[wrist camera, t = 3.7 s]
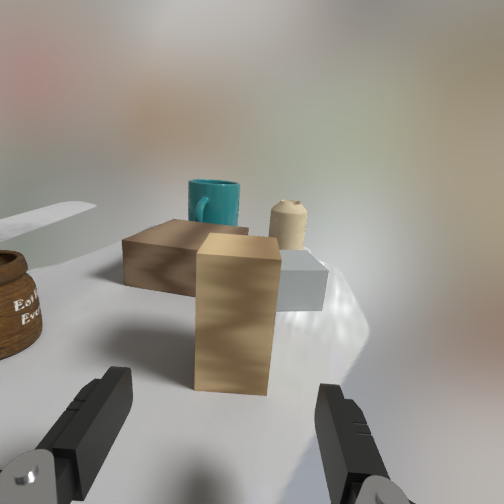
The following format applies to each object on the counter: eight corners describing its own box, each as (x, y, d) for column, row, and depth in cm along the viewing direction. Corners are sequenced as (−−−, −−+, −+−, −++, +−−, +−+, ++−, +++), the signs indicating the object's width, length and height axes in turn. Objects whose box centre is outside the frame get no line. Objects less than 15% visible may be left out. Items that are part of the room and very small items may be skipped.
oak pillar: (194, 390, 20) (196, 253, 17) (206, 345, 24) (210, 232, 21) (266, 395, 20) (281, 259, 17) (264, 349, 24) (276, 237, 21)
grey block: (260, 313, 31) (264, 270, 29) (250, 285, 37) (253, 249, 36) (321, 312, 32) (328, 270, 30) (301, 285, 38) (306, 250, 37)
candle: (284, 271, 42) (292, 204, 39) (259, 260, 46) (264, 198, 43) (307, 264, 46) (316, 202, 43) (281, 255, 50) (288, 197, 46)
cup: (171, 250, 48) (170, 181, 44) (199, 234, 59) (200, 178, 55) (222, 257, 46) (225, 187, 43) (241, 239, 57) (245, 182, 54)
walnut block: (125, 287, 34) (121, 239, 32) (174, 255, 46) (173, 219, 44) (221, 303, 32) (223, 253, 30) (245, 265, 44) (248, 227, 42)
